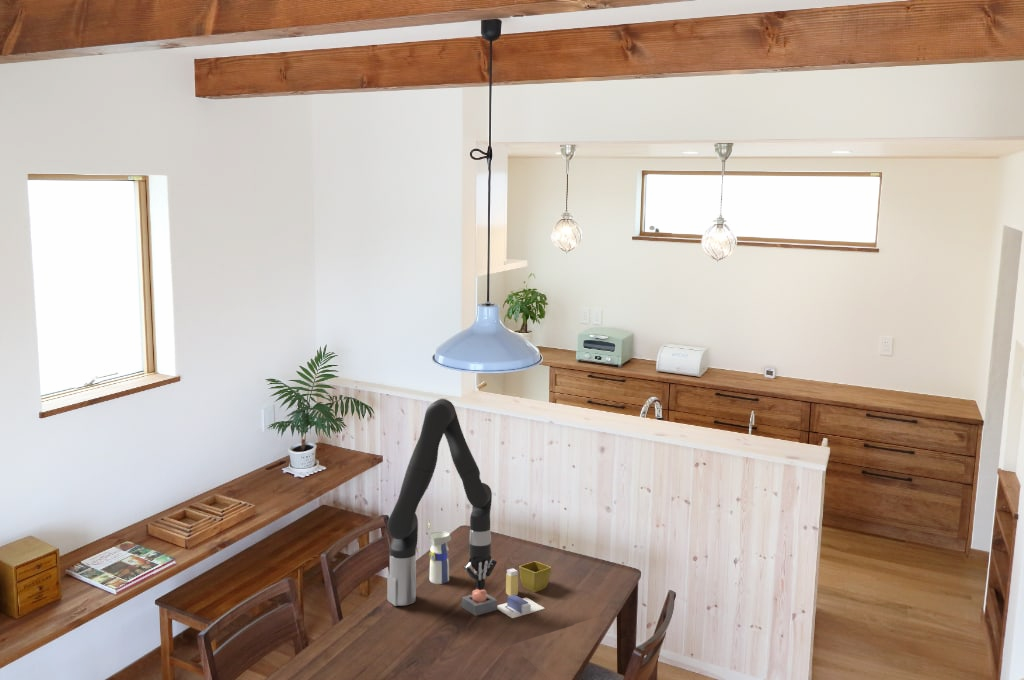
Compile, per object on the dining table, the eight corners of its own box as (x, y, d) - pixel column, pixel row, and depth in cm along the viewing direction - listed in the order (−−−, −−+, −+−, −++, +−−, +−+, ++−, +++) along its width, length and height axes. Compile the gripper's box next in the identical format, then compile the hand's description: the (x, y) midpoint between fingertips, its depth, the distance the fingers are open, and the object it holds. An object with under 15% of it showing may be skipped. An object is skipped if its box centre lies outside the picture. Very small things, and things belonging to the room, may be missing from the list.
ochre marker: (510, 597, 306) (511, 572, 305) (505, 594, 308) (506, 569, 307) (517, 595, 308) (518, 570, 307) (512, 592, 310) (513, 567, 309)
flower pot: (534, 583, 320) (534, 560, 319) (551, 590, 313) (551, 566, 312) (518, 589, 313) (518, 566, 312) (534, 596, 307) (535, 572, 306)
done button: (477, 607, 293) (477, 595, 292) (469, 601, 297) (469, 591, 296) (489, 603, 296) (489, 592, 295) (481, 598, 300) (481, 587, 299)
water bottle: (437, 590, 311) (437, 524, 309) (423, 583, 318) (423, 518, 315) (454, 584, 317) (455, 520, 314) (441, 578, 323) (441, 514, 320)
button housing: (475, 615, 290) (475, 606, 290) (461, 606, 298) (461, 597, 297) (497, 609, 295) (497, 600, 295) (483, 600, 303) (483, 591, 302)
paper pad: (512, 618, 289) (512, 617, 289) (494, 607, 298) (494, 606, 298) (544, 609, 297) (544, 608, 297) (526, 598, 306) (526, 597, 306)
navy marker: (507, 605, 299) (523, 614, 291) (507, 596, 298) (523, 606, 291) (514, 603, 300) (530, 612, 293) (514, 594, 300) (531, 603, 293)
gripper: (469, 548, 287) (469, 597, 289) (501, 540, 295) (501, 588, 296) (458, 541, 293) (458, 589, 295) (490, 534, 301) (490, 581, 303)
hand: (480, 589), depth 296 cm, fingers closed
